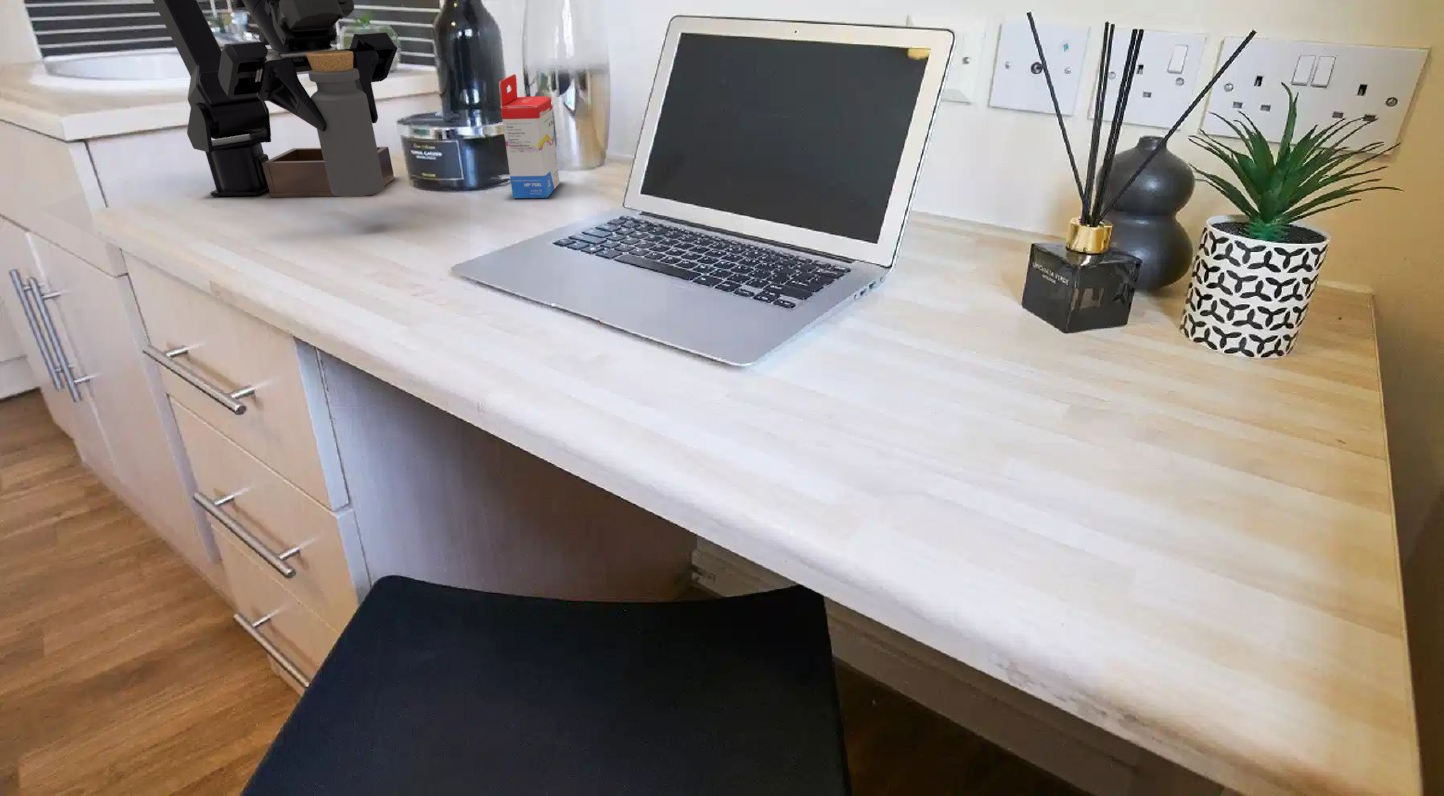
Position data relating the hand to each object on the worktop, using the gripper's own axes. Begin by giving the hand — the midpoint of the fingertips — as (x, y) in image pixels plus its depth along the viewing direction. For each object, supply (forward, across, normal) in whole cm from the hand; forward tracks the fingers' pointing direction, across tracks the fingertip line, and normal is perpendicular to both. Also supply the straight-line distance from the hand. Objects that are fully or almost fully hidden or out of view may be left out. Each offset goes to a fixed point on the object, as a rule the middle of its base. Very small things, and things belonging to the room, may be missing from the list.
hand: (350, 124), depth 94 cm
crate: (-8, +8, +25) cm, 28 cm away
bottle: (+4, 0, +6) cm, 8 cm away
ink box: (+9, +24, +8) cm, 27 cm away
